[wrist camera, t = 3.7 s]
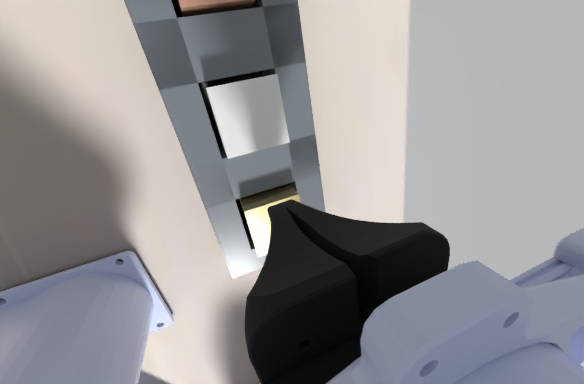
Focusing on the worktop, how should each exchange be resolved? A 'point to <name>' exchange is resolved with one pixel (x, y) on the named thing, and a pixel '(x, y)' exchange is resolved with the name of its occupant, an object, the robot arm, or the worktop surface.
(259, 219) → the brass key
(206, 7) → the terracotta key
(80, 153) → the worktop surface
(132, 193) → the worktop surface
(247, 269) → the keypad
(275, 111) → the grey key
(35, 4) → the worktop surface
